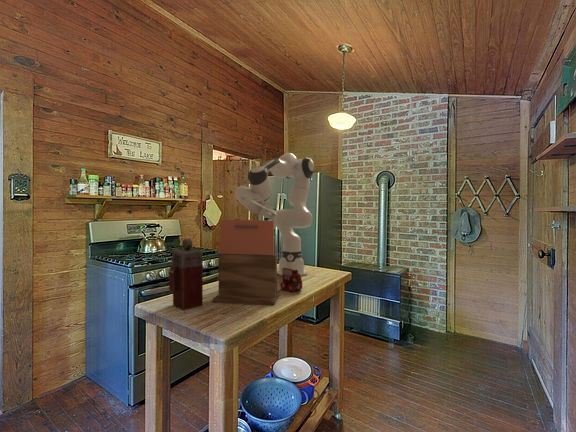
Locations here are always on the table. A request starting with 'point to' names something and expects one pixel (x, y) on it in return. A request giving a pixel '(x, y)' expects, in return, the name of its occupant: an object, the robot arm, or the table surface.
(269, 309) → the table surface
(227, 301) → the wooden box
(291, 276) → the dark red lumpy cluster
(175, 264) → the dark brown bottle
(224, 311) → the table surface
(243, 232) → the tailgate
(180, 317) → the table surface
